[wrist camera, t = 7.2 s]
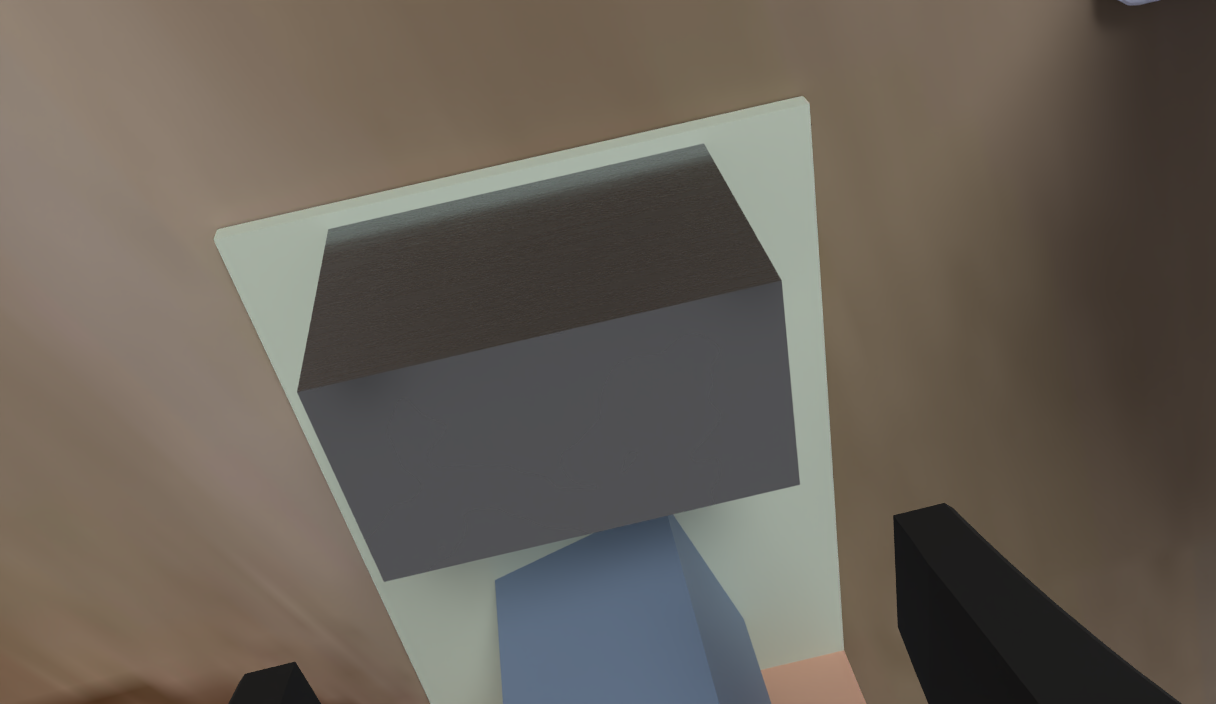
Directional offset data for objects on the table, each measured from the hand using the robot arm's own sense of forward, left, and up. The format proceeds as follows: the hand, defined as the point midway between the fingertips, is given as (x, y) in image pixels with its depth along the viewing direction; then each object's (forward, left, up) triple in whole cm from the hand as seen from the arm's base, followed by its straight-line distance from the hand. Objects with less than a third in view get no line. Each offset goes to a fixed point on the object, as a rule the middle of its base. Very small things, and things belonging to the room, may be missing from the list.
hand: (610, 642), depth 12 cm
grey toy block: (0, 0, -9) cm, 9 cm away
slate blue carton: (0, +10, -9) cm, 13 cm away
